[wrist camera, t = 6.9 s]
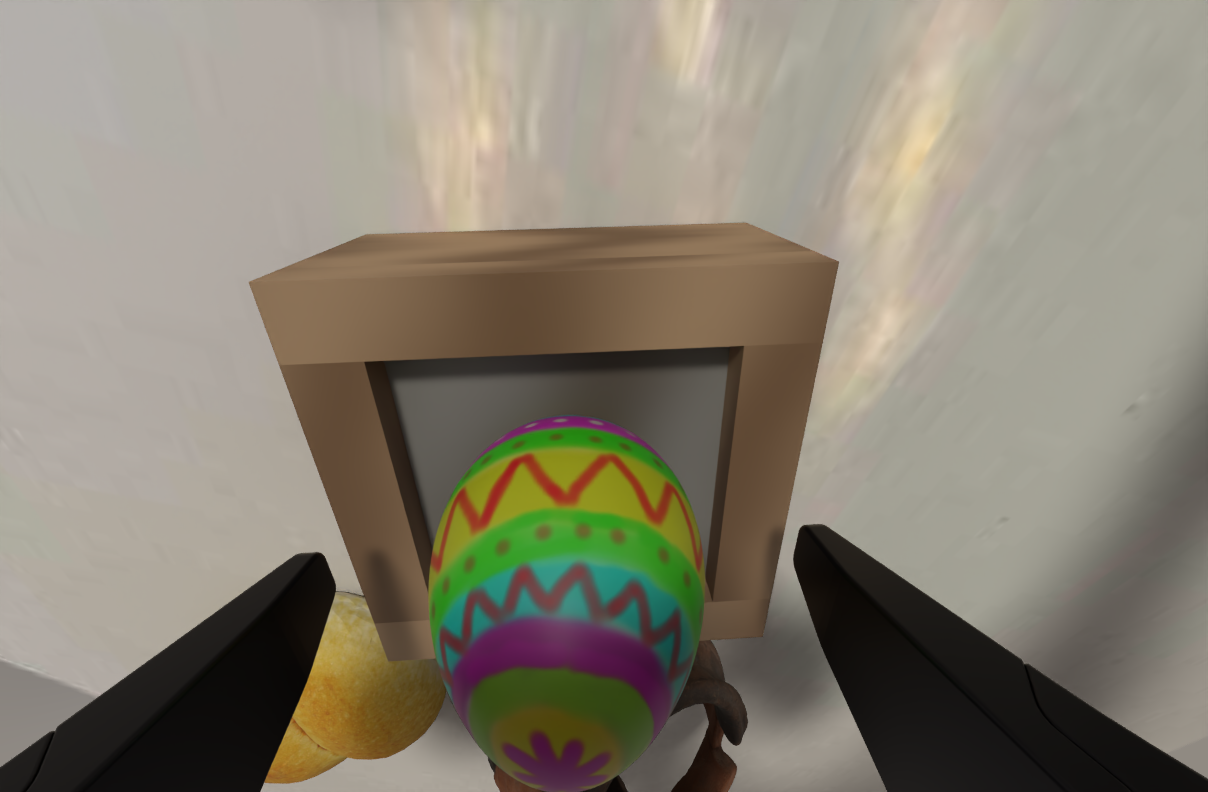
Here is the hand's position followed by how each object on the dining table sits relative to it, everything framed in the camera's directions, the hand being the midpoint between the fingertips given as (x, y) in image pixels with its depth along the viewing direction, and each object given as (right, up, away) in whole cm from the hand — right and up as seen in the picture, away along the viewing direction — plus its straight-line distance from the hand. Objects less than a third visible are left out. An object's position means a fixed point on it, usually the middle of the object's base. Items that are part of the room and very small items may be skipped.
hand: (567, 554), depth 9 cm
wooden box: (0, +3, +6) cm, 6 cm away
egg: (0, +1, +2) cm, 2 cm away
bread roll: (-10, -8, +11) cm, 17 cm away
